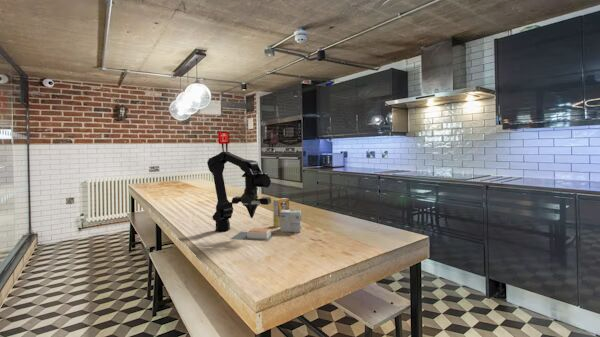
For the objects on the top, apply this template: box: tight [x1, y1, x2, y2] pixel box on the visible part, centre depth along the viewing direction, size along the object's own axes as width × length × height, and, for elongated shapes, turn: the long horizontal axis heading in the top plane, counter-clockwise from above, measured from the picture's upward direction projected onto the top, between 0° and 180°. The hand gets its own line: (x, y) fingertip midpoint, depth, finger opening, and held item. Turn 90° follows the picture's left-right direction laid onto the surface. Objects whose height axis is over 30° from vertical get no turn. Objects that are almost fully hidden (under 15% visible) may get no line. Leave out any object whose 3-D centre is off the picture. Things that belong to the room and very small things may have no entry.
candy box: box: [272, 197, 290, 228], centre depth 183 cm, size 9×4×15 cm, turn 139°
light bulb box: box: [279, 209, 302, 233], centre depth 173 cm, size 11×7×11 cm, turn 84°
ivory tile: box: [246, 227, 272, 239], centre depth 161 cm, size 3×7×10 cm
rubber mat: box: [230, 231, 276, 242], centre depth 162 cm, size 19×14×1 cm
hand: (251, 217), depth 161 cm, fingers closed
